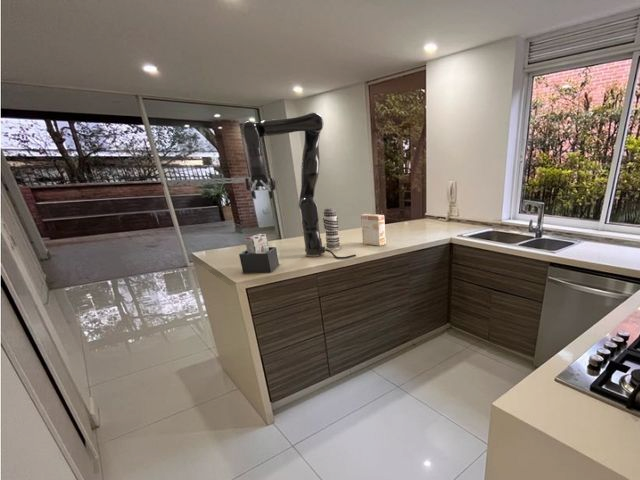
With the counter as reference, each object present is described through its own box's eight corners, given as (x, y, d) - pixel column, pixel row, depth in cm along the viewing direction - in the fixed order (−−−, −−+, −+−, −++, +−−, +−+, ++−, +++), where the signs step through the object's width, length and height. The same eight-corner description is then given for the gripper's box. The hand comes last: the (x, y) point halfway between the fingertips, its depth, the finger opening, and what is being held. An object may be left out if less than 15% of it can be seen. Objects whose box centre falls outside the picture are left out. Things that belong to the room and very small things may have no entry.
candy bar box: (264, 264, 182) (258, 233, 175) (272, 264, 181) (266, 233, 174) (250, 270, 172) (243, 237, 165) (259, 270, 171) (252, 238, 164)
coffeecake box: (385, 244, 231) (384, 214, 223) (379, 246, 225) (377, 216, 217) (369, 241, 238) (367, 213, 230) (362, 243, 233) (360, 214, 225)
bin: (279, 264, 184) (276, 246, 180) (271, 272, 171) (267, 253, 167) (253, 265, 183) (249, 247, 179) (243, 273, 170) (238, 254, 166)
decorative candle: (330, 246, 225) (326, 207, 214) (343, 247, 222) (339, 207, 212) (323, 249, 217) (318, 209, 206) (336, 250, 214) (332, 209, 204)
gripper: (273, 165, 180) (278, 197, 186) (245, 165, 178) (251, 198, 185) (269, 166, 173) (274, 199, 179) (240, 166, 172) (246, 199, 178)
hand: (263, 198), depth 182 cm, fingers open, 8 cm apart
